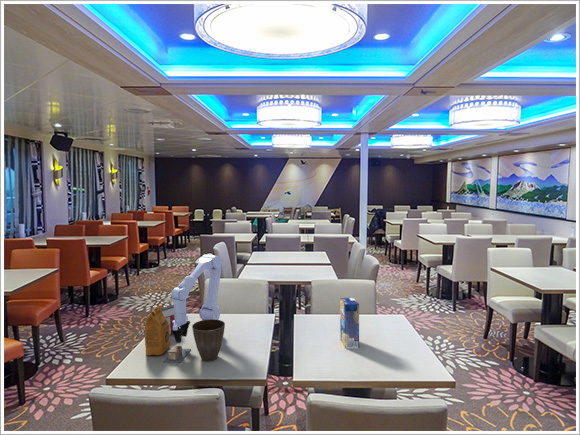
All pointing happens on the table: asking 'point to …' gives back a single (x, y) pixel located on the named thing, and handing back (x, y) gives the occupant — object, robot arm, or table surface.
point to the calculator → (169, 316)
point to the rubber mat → (184, 353)
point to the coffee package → (156, 333)
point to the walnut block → (174, 352)
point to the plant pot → (208, 338)
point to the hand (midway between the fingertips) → (181, 339)
